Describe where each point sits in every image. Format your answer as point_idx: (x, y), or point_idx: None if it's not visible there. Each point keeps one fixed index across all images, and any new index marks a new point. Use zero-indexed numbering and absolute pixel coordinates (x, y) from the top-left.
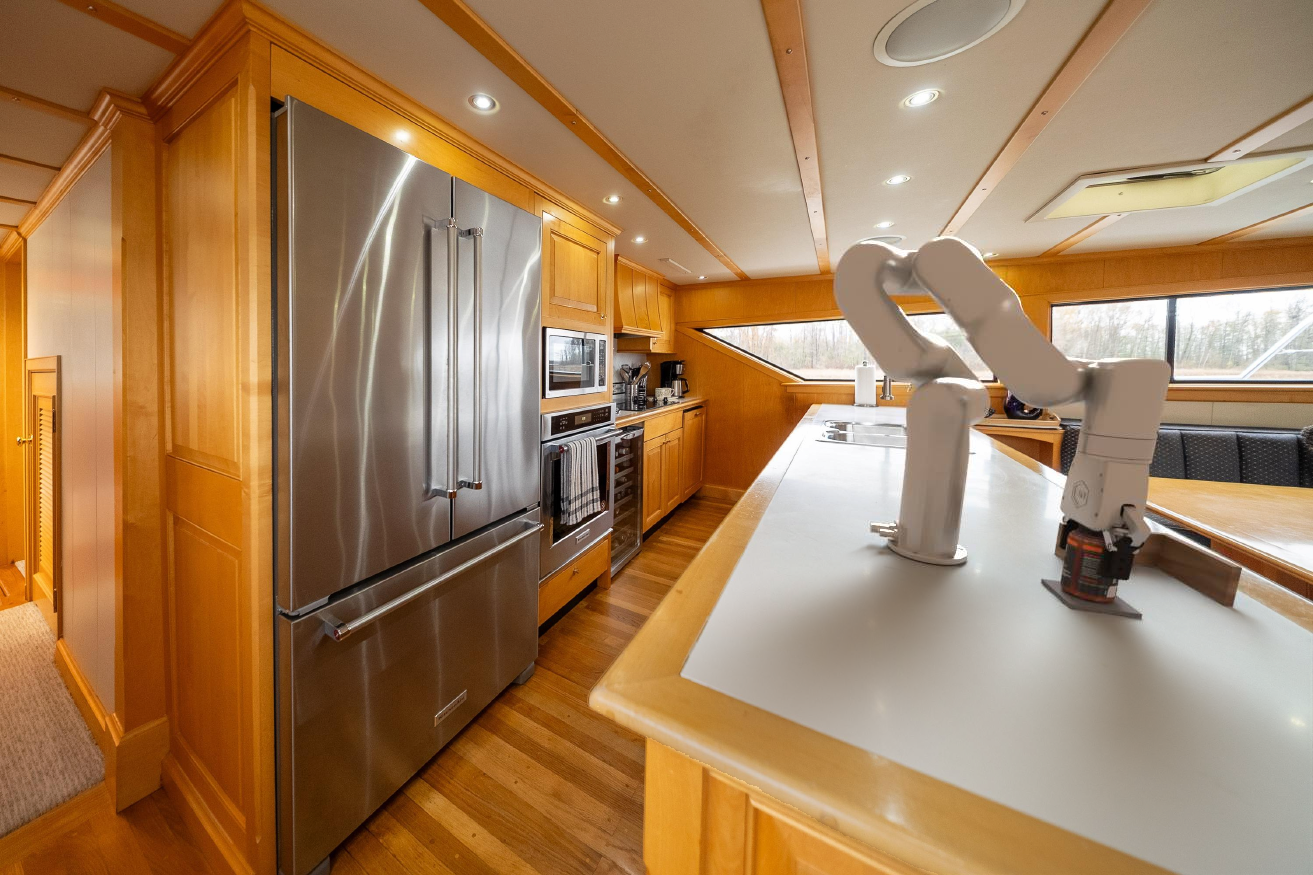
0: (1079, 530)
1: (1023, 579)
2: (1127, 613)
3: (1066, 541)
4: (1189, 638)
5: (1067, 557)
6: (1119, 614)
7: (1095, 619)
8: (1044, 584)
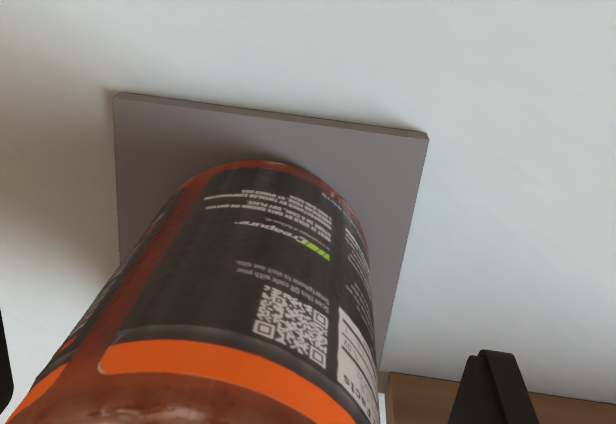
0: None
1: (456, 46)
2: None
3: (477, 417)
4: (25, 378)
5: (232, 258)
6: None
7: (38, 143)
8: (387, 129)
